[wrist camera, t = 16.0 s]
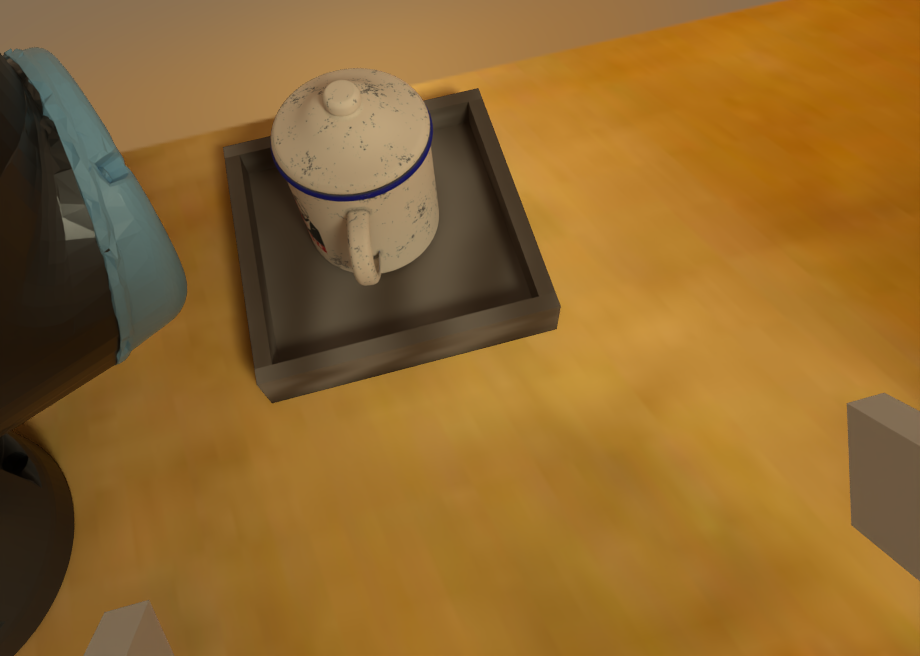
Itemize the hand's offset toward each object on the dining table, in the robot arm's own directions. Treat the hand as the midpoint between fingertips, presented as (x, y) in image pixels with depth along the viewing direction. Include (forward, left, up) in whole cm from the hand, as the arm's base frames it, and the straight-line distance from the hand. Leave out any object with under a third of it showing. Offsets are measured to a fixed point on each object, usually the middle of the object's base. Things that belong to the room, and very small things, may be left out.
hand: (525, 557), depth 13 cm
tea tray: (-7, +24, -26) cm, 36 cm away
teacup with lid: (-8, +24, -25) cm, 35 cm away
